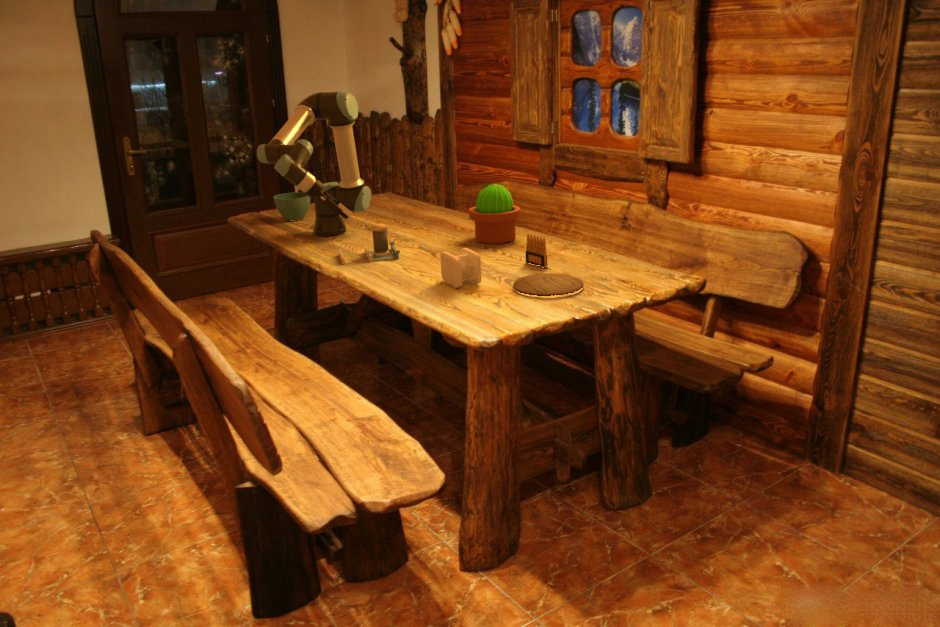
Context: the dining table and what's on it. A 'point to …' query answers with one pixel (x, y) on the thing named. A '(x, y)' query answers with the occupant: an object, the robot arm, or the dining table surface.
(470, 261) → the cable organizer
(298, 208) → the green rounded bowl
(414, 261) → the dining table surface
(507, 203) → the potted cactus
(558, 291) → the trivet
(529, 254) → the ammunition clip
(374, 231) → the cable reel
